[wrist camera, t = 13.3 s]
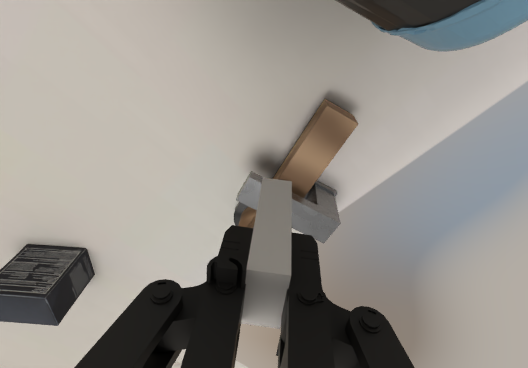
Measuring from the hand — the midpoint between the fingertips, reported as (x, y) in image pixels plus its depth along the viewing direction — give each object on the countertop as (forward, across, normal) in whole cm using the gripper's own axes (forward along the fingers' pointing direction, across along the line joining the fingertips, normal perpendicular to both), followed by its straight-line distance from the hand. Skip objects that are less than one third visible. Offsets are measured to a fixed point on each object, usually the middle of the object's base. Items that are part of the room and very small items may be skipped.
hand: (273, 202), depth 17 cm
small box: (+25, -34, -33) cm, 53 cm away
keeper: (+24, +2, -12) cm, 27 cm away
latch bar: (+23, +2, -11) cm, 25 cm away
